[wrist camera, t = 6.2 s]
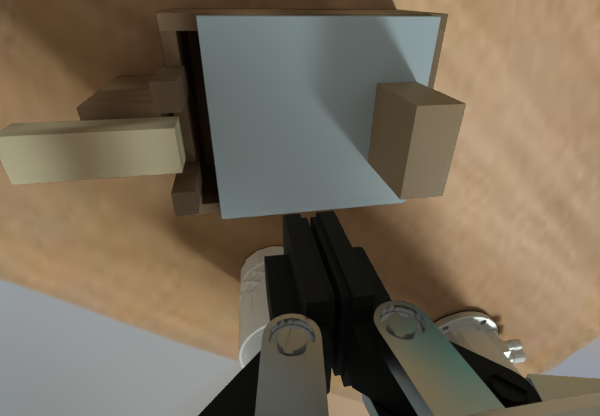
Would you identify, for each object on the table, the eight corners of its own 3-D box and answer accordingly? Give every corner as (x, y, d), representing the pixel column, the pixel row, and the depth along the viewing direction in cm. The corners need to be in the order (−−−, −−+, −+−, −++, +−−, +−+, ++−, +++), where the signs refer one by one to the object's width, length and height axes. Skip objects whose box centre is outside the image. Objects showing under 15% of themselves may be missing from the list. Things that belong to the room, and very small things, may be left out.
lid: (431, 15, 20) (502, 23, 15) (399, 195, 26) (441, 243, 21) (197, 15, 18) (187, 23, 13) (222, 211, 24) (221, 269, 19)
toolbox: (397, 9, 26) (493, 17, 17) (377, 159, 32) (439, 225, 23) (100, 7, 23) (15, 17, 13) (142, 175, 29) (103, 260, 20)
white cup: (320, 277, 39) (348, 356, 30) (258, 308, 39) (268, 393, 31) (289, 227, 34) (310, 303, 26) (220, 263, 35) (218, 348, 27)
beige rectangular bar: (178, 116, 19) (174, 128, 17) (185, 158, 20) (182, 172, 18) (12, 123, 17) (-11, 137, 16) (30, 167, 19) (11, 184, 17)
